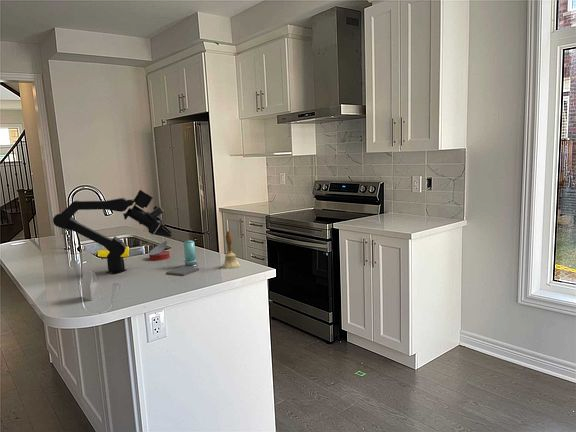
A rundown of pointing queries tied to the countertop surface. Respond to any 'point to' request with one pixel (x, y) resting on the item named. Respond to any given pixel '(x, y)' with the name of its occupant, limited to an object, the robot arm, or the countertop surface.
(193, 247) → the teal cylinder
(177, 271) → the mat
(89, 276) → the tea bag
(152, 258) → the canned food
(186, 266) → the metal domed disc
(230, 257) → the hand bell
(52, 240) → the countertop surface
